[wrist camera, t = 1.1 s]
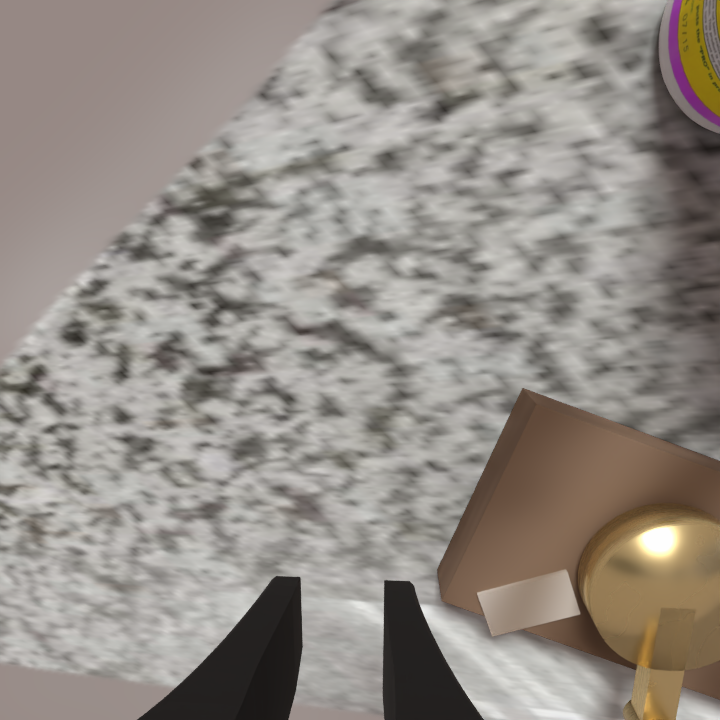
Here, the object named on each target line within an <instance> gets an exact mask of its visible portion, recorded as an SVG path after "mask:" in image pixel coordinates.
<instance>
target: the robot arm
mask: <svg viewBox="0 0 720 720" xmlns="http://www.w3.org/2000/svg"><path fill="white" fill-rule="evenodd" d="M302 647H303V646H302V613H301V581H300V577H283V576H276V577H275V578H273V579H272V580H271V582H270V583H269V584H268V586H267V587H266V588H265V590H264V591H263V592H262V594H261V595H260V596H259V598H258V599H257V600H256V602H255V603H254V604H253V605H252V607H251V608H250V609H249V610H248V612H247V613H246V614H245V615H244V617H243V618H242V619H241V620H240V621H239V622H238V624H237V625H236V626H235V627H234V628H233V629H232V631H231V632H230V633H229V634H228V635H227V636H226V638H225V639H224V640H223V641H222V642H221V643H220V644H219V645H218V646H217V647H216V648H215V649H214V651H213V652H212V653H211V654H210V655H209V656H208V657H207V658H206V659H205V660H204V661H203V662H202V663H201V664H200V665H199V666H198V667H197V668H196V669H195V670H194V671H193V672H192V673H191V674H190V675H189V676H188V677H187V678H186V679H185V680H184V681H183V682H182V683H180V684H179V685H178V686H177V687H176V688H175V689H174V690H173V691H172V692H170V693H169V695H167V696H166V697H165V698H164V699H163V700H161V701H160V702H159V703H158V704H156V705H155V706H154V707H153V708H151V709H150V710H149V711H148V712H147V713H145V714H144V715H143V716H141V717H140V718H139V719H138V720H288V718H289V714H290V711H291V707H292V703H293V699H294V696H295V692H296V686H297V680H298V674H299V667H300V661H301V654H302ZM383 705H384V719H385V720H484V719H483V718H482V717H481V715H480V714H479V712H478V711H477V709H476V708H475V707H474V705H473V704H472V702H471V701H470V699H469V698H468V696H467V695H466V693H465V692H464V690H463V689H462V687H461V685H460V684H459V682H458V681H457V679H456V677H455V675H454V674H453V672H452V670H451V669H450V667H449V665H448V664H447V662H446V660H445V658H444V656H443V654H442V653H441V651H440V649H439V647H438V645H437V643H436V641H435V639H434V637H433V635H432V633H431V631H430V628H429V626H428V624H427V622H426V619H425V617H424V615H423V612H422V610H421V607H420V605H419V602H418V599H417V596H416V592H415V588H414V585H413V584H412V583H411V582H410V581H388V580H385V581H384V648H383Z"/></svg>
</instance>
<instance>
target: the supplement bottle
mask: <svg viewBox="0 0 720 720" xmlns="http://www.w3.org/2000/svg"><path fill="white" fill-rule="evenodd" d="M659 61H660V67H661V72H662V76H663V79H664V82H665V84H666V87H667V89H668V91H669V93H670V95H671V96H672V98H673V99H674V101H675V102H676V104H677V105H678V106H679V108H680V109H681V110H682V111H683V112H684V113H685V114H686V115H687V116H688V117H689V118H690V119H691V120H693V121H694V122H696V123H697V124H699V125H700V126H702V127H704V128H706V129H708V130H711V131H713V132H716V133H719V134H720V0H668V1H667V4H666V7H665V10H664V13H663V17H662V21H661V26H660V33H659Z"/></svg>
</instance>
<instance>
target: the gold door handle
mask: <svg viewBox="0 0 720 720" xmlns="http://www.w3.org/2000/svg"><path fill="white" fill-rule="evenodd" d="M578 586H579V591H580V595H581V598H582V600H583V602H584V604H585V606H586V608H587V610H588V612H589V614H590V616H591V618H592V620H593V622H594V624H595V625H596V627H597V629H598V631H599V633H600V635H601V636H602V638H603V639H604V641H605V642H606V643H607V644H608V645H609V647H610V648H611V649H612V650H614V651H615V652H616V653H617V654H618V655H620V656H621V657H623V658H624V659H626V660H628V661H630V662H632V663H634V664H636V665H637V668H636V674H635V681H634V687H633V693H632V700H630V701H629V702H628V703H627V704H626V705H625V707H624V709H623V717H624V719H625V720H676V714H677V709H678V703H679V698H680V693H681V687H682V682H683V676H684V671H685V670H691V669H696V668H701V667H704V666H707V665H710V664H713V663H715V662H717V661H719V660H720V521H719V520H718V519H717V518H715V517H714V516H712V515H711V514H709V513H707V512H705V511H703V510H701V509H698V508H695V507H692V506H688V505H684V504H676V503H657V504H650V505H645V506H641V507H637V508H634V509H632V510H629V511H627V512H625V513H623V514H621V515H619V516H617V517H615V518H614V519H612V520H611V521H609V522H608V523H607V524H605V525H604V526H603V527H602V528H601V529H600V530H599V531H598V532H597V533H596V534H595V535H594V536H593V538H592V539H591V540H590V542H589V543H588V545H587V546H586V548H585V550H584V552H583V555H582V557H581V560H580V564H579V569H578Z"/></svg>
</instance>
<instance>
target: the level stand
mask: <svg viewBox="0 0 720 720" xmlns="http://www.w3.org/2000/svg"><path fill="white" fill-rule="evenodd" d="M657 503H676V504H684V505H688V506H692V507H695V508H698V509H701V510H703V511H705V512H707V513H709V514H711V515H712V516H714V517H715V518H717V519H718V520H719V521H720V461H718V460H715V459H713V458H710V457H707V456H705V455H702V454H699V453H697V452H694V451H691V450H688V449H686V448H683V447H680V446H678V445H675V444H672V443H670V442H667V441H664V440H661V439H659V438H656V437H653V436H651V435H648V434H645V433H643V432H640V431H637V430H635V429H632V428H629V427H626V426H624V425H621V424H618V423H616V422H613V421H610V420H608V419H605V418H602V417H599V416H597V415H594V414H591V413H589V412H586V411H583V410H581V409H578V408H575V407H572V406H570V405H567V404H564V403H562V402H559V401H556V400H554V399H551V398H548V397H546V396H543V395H540V394H537V393H535V392H532V391H529V390H527V389H524V388H522V391H521V393H520V395H519V397H518V399H517V401H516V403H515V405H514V408H513V410H512V412H511V414H510V416H509V418H508V420H507V422H506V425H505V427H504V429H503V431H502V433H501V435H500V437H499V439H498V442H497V444H496V446H495V448H494V450H493V452H492V454H491V456H490V459H489V461H488V463H487V465H486V467H485V469H484V471H483V474H482V476H481V478H480V480H479V482H478V484H477V486H476V488H475V491H474V493H473V495H472V497H471V499H470V501H469V503H468V505H467V508H466V510H465V512H464V514H463V516H462V518H461V520H460V522H459V525H458V527H457V529H456V531H455V533H454V535H453V537H452V539H451V542H450V544H449V546H448V548H447V550H446V552H445V554H444V556H443V559H442V561H441V563H440V565H439V567H438V569H437V571H438V578H439V585H440V592H441V599H442V601H443V602H446V603H449V604H452V605H454V606H457V607H460V608H463V609H466V610H468V611H471V612H474V613H477V614H480V615H483V616H485V618H486V621H487V623H488V626H489V629H490V632H491V635H492V637H493V636H497V635H501V634H505V633H509V632H513V631H517V630H521V629H522V630H525V631H528V632H530V633H533V634H536V635H539V636H542V637H544V638H547V639H550V640H553V641H556V642H559V643H561V644H564V645H567V646H570V647H573V648H575V649H578V650H581V651H584V652H587V653H590V654H592V655H595V656H598V657H601V658H604V659H606V660H609V661H612V662H615V663H618V664H621V665H623V666H626V667H629V668H632V669H635V670H636V668H637V665H636V664H634V663H632V662H630V661H628V660H626V659H624V658H623V657H621V656H620V655H618V654H617V653H616V652H615V651H614V650H612V649H611V648H610V647H609V645H608V644H607V643H606V642H605V641H604V639H603V638H602V636H601V635H600V633H599V631H598V629H597V627H596V625H595V624H594V622H593V620H592V618H591V616H590V614H589V612H588V610H587V608H586V606H585V604H584V602H583V600H582V598H581V595H580V591H579V586H578V569H579V564H580V560H581V557H582V555H583V552H584V550H585V548H586V546H587V545H588V543H589V542H590V540H591V539H592V538H593V536H594V535H595V534H596V533H597V532H598V531H599V530H600V529H601V528H602V527H603V526H604V525H605V524H607V523H608V522H609V521H611V520H612V519H614V518H615V517H617V516H619V515H621V514H623V513H625V512H627V511H629V510H632V509H634V508H637V507H641V506H645V505H650V504H657ZM682 687H685V688H688V689H691V690H694V691H697V692H699V693H702V694H705V695H708V696H711V697H713V698H716V699H719V700H720V660H719V661H717V662H715V663H713V664H710V665H707V666H704V667H701V668H696V669H691V670H685V671H684V676H683V682H682Z"/></svg>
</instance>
